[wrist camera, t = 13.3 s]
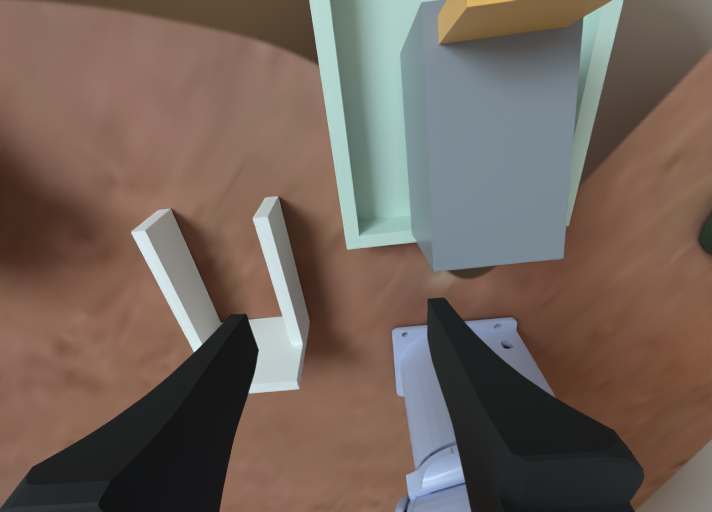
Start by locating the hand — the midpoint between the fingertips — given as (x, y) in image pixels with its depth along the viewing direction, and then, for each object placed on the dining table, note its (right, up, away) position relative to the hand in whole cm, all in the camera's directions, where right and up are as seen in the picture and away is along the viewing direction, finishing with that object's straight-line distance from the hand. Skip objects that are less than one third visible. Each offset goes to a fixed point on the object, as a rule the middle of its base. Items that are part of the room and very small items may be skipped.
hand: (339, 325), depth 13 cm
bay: (-7, +2, +10) cm, 12 cm away
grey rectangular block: (+6, +9, +4) cm, 11 cm away
